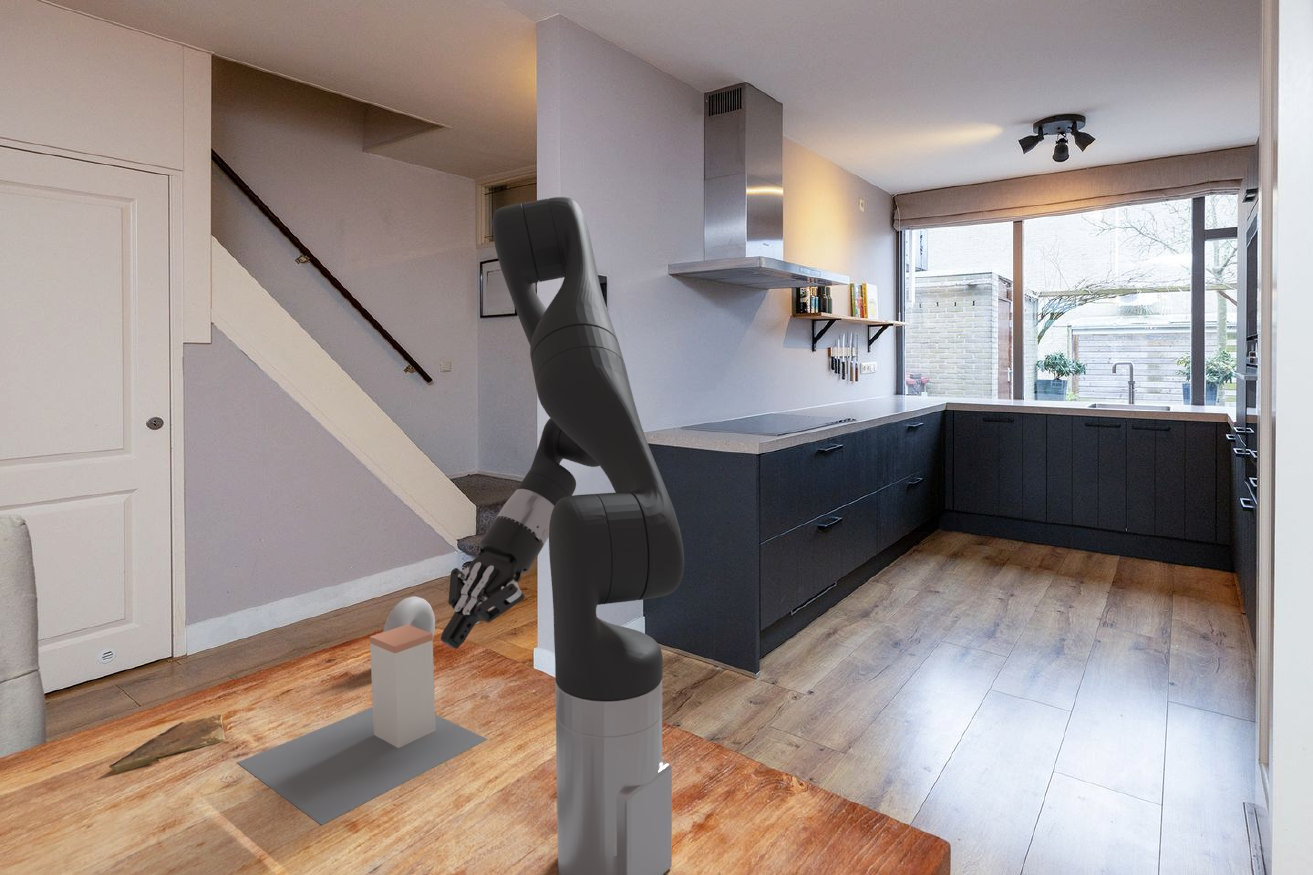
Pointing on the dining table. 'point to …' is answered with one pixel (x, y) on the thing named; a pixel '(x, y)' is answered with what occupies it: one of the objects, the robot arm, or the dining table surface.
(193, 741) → the shard
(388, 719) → the block
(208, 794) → the dining table surface
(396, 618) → the donut
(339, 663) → the dining table surface
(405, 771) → the mat
